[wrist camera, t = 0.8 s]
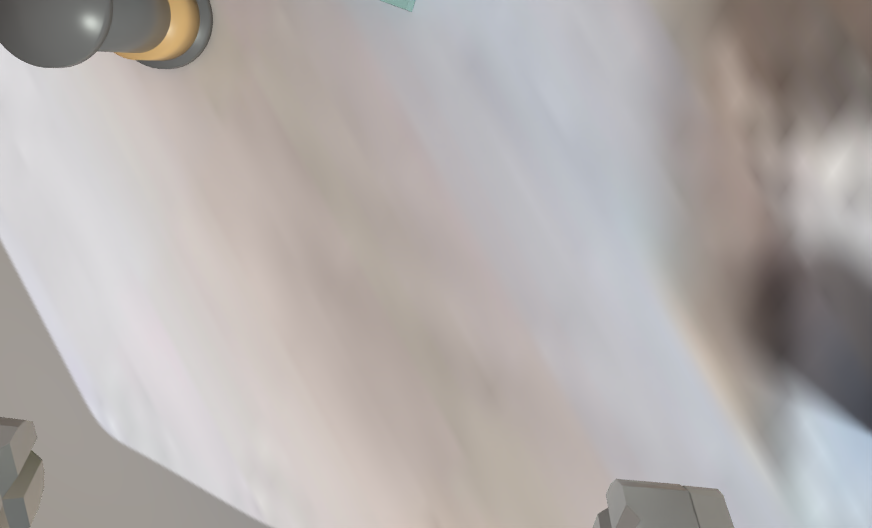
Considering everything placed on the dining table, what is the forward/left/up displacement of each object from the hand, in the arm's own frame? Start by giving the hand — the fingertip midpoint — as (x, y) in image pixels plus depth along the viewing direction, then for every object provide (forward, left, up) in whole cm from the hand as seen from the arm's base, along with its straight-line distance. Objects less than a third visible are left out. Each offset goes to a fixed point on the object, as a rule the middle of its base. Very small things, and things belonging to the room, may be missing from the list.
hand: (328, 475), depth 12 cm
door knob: (-1, -24, -41) cm, 48 cm away
